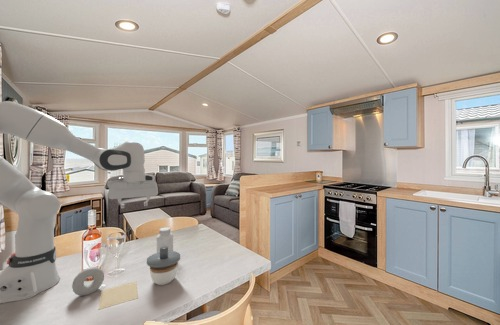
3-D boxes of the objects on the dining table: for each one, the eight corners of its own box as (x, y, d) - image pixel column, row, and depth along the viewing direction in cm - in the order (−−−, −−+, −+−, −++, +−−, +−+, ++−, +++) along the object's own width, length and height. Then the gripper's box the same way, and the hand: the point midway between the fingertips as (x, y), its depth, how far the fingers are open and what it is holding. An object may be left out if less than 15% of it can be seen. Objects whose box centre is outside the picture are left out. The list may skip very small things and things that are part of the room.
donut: (102, 286, 87) (102, 261, 86) (105, 289, 85) (105, 264, 84) (71, 298, 79) (70, 272, 79) (73, 302, 77) (73, 275, 77)
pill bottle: (162, 262, 106) (162, 232, 106) (153, 257, 111) (153, 229, 111) (176, 256, 112) (176, 228, 112) (167, 252, 117) (167, 225, 117)
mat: (98, 311, 73) (98, 309, 73) (101, 291, 83) (101, 290, 83) (138, 299, 79) (138, 297, 79) (136, 282, 89) (136, 281, 89)
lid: (147, 270, 81) (147, 257, 81) (146, 256, 92) (146, 245, 92) (182, 263, 87) (182, 251, 87) (177, 251, 98) (177, 240, 98)
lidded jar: (144, 286, 86) (143, 263, 86) (162, 273, 97) (162, 252, 96) (166, 292, 83) (166, 268, 83) (182, 277, 93) (182, 255, 93)
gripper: (106, 178, 91) (107, 211, 91) (158, 176, 102) (158, 205, 102) (107, 177, 96) (108, 208, 97) (156, 175, 107) (157, 203, 107)
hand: (134, 206), depth 99 cm, fingers open, 8 cm apart
